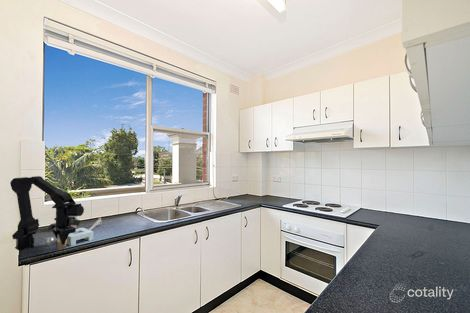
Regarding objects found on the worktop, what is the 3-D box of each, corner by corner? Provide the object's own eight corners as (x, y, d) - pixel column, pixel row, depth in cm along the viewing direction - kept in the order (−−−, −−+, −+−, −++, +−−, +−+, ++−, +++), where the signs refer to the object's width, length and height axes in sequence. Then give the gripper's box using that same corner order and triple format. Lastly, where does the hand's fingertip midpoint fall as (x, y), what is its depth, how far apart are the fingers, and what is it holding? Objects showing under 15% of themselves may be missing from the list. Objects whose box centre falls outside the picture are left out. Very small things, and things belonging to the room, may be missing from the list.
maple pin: (59, 250, 119) (59, 235, 119) (55, 248, 121) (56, 234, 121) (67, 247, 122) (68, 233, 122) (64, 246, 124) (64, 232, 124)
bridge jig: (70, 245, 124) (71, 237, 124) (60, 240, 132) (60, 232, 132) (93, 239, 135) (93, 231, 135) (82, 235, 142) (82, 227, 142)
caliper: (99, 225, 164) (99, 216, 164) (101, 225, 164) (101, 216, 164) (84, 234, 144) (85, 225, 144) (86, 234, 144) (86, 225, 144)
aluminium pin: (46, 246, 123) (46, 239, 123) (43, 245, 125) (43, 238, 125) (55, 244, 126) (55, 237, 126) (52, 243, 128) (52, 236, 128)
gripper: (86, 215, 124) (85, 242, 124) (71, 210, 133) (71, 235, 133) (63, 219, 114) (62, 249, 114) (48, 214, 124) (48, 241, 124)
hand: (61, 243), depth 122 cm, fingers closed on maple pin, 4 cm apart
